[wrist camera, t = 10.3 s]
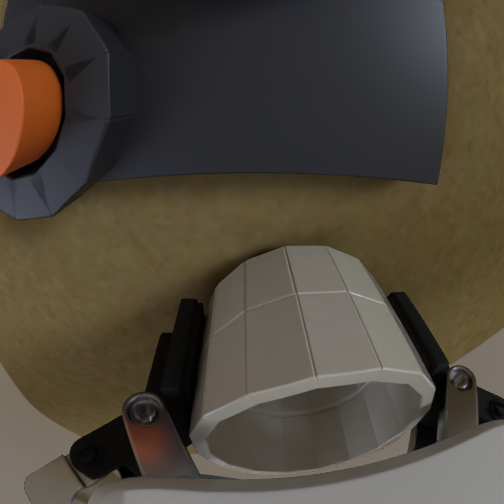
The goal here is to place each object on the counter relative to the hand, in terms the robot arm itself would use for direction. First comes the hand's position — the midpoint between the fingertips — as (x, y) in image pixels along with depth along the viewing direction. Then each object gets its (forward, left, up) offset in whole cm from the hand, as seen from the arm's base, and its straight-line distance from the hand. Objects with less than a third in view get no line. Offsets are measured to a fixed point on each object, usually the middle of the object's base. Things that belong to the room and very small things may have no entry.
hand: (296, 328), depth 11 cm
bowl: (0, 0, -1) cm, 1 cm away
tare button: (+8, +7, +2) cm, 11 cm away
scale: (+14, +3, -1) cm, 14 cm away
